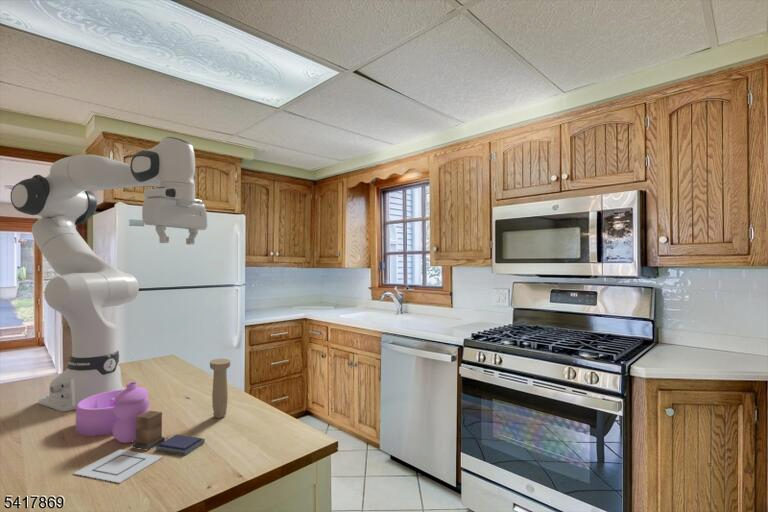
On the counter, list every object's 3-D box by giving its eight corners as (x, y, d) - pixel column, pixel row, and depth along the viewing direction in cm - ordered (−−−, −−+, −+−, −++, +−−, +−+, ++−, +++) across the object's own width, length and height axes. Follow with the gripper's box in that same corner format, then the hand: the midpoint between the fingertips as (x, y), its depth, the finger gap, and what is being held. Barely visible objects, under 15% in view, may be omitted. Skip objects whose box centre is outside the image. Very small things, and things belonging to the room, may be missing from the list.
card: (72, 474, 77) (72, 472, 77) (119, 450, 86) (119, 449, 86) (119, 483, 74) (119, 482, 74) (162, 457, 83) (162, 456, 83)
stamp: (132, 447, 88) (132, 417, 88) (149, 439, 92) (149, 409, 92) (148, 450, 86) (148, 419, 86) (164, 441, 91) (164, 411, 91)
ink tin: (155, 450, 86) (155, 444, 86) (176, 438, 92) (176, 433, 92) (184, 455, 84) (184, 449, 84) (204, 443, 90) (204, 437, 90)
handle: (215, 422, 101) (215, 365, 101) (206, 415, 106) (206, 360, 106) (233, 417, 104) (233, 362, 105) (224, 410, 109) (224, 357, 109)
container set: (68, 424, 100) (69, 374, 100) (135, 407, 112) (135, 362, 112) (97, 455, 84) (98, 395, 84) (171, 431, 96) (171, 378, 96)
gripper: (195, 201, 120) (195, 245, 120) (137, 189, 100) (137, 242, 100) (212, 200, 119) (212, 245, 118) (157, 188, 99) (157, 242, 99)
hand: (177, 243), depth 109 cm, fingers open, 8 cm apart
